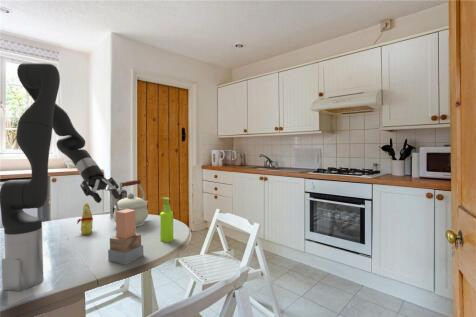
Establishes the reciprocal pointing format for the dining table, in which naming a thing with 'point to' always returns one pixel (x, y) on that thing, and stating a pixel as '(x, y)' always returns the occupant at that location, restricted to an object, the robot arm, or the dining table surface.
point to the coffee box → (112, 200)
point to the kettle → (132, 203)
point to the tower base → (125, 255)
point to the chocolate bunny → (86, 220)
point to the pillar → (125, 223)
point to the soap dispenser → (166, 222)
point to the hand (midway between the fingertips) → (109, 199)
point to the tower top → (125, 243)
